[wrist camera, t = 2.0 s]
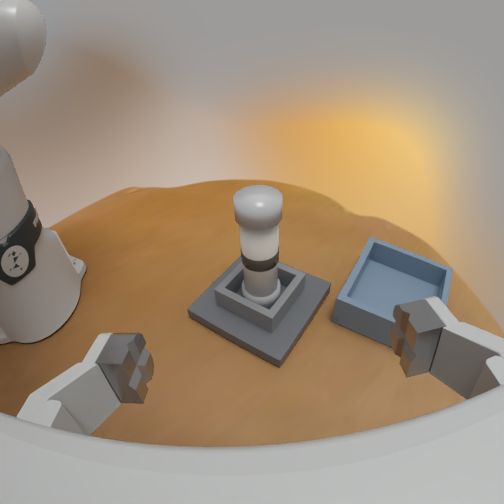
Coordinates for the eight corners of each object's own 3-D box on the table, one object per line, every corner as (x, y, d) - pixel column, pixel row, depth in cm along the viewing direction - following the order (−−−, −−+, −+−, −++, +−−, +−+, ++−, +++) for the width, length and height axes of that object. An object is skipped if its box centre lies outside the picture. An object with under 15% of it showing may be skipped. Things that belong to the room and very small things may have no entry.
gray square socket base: (189, 317, 35) (182, 294, 32) (248, 257, 42) (246, 234, 40) (279, 367, 30) (281, 347, 27) (329, 291, 37) (334, 268, 34)
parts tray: (330, 321, 34) (336, 298, 31) (364, 259, 41) (370, 236, 38) (424, 360, 28) (439, 341, 26) (441, 290, 36) (452, 268, 33)
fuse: (235, 301, 35) (223, 201, 26) (256, 278, 37) (251, 181, 29) (267, 317, 33) (265, 215, 24) (286, 291, 35) (291, 192, 27)
